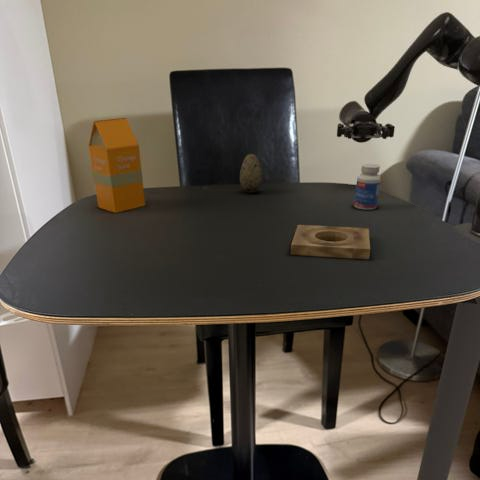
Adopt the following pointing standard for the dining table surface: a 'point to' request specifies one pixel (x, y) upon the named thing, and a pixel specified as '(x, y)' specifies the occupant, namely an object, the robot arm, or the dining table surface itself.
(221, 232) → the dining table surface
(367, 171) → the pill bottle
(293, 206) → the dining table surface
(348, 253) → the pad
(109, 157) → the orange juice
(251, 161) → the decorative egg
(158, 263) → the dining table surface
